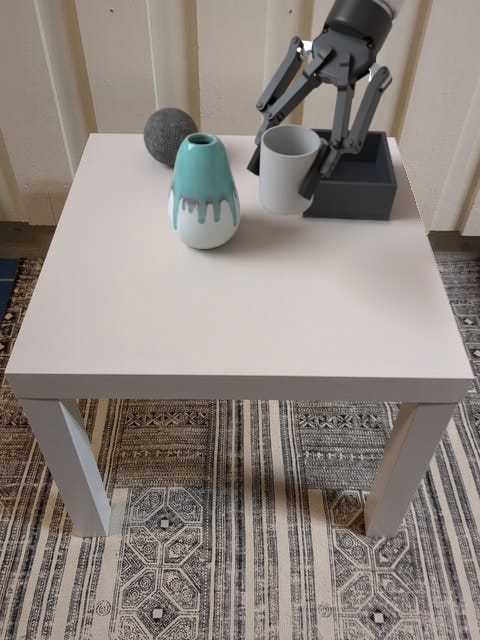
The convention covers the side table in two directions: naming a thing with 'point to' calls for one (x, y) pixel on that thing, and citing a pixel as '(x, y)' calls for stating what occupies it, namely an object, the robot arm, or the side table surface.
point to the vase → (203, 193)
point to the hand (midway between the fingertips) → (277, 184)
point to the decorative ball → (167, 133)
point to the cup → (286, 167)
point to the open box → (357, 182)
